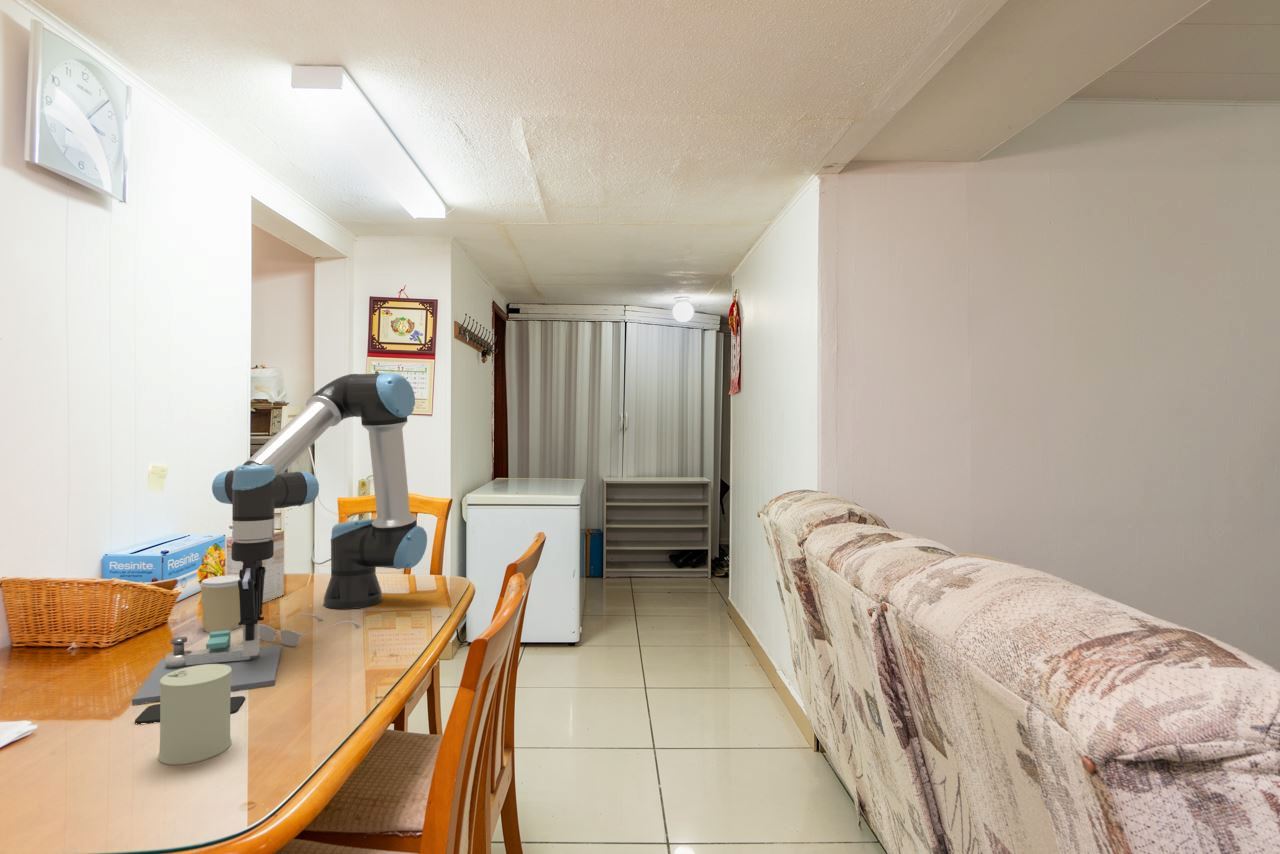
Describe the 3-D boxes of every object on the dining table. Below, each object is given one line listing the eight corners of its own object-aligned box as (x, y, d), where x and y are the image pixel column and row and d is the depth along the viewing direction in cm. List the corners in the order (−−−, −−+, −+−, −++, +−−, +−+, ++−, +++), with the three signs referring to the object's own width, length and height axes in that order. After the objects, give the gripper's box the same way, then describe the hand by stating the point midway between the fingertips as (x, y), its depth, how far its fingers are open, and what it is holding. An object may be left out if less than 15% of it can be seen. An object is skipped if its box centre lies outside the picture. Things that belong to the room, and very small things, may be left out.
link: (161, 668, 131) (162, 643, 131) (169, 661, 135) (170, 636, 135) (257, 659, 136) (257, 635, 136) (262, 653, 140) (262, 629, 140)
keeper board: (281, 649, 147) (281, 622, 147) (274, 685, 126) (274, 653, 126) (161, 663, 137) (161, 634, 137) (131, 705, 116) (132, 671, 116)
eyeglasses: (254, 640, 154) (254, 623, 154) (321, 621, 170) (321, 605, 170) (299, 650, 147) (299, 632, 147) (364, 628, 164) (364, 612, 164)
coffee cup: (253, 623, 166) (253, 575, 166) (226, 634, 157) (227, 583, 157) (218, 621, 167) (219, 574, 167) (190, 632, 158) (190, 582, 158)
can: (182, 737, 105) (183, 661, 105) (243, 735, 105) (243, 659, 105) (143, 766, 95) (144, 683, 95) (210, 764, 96) (211, 681, 96)
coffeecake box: (262, 595, 195) (263, 529, 195) (284, 596, 194) (285, 529, 194) (224, 608, 180) (225, 536, 180) (247, 609, 179) (248, 537, 179)
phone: (236, 711, 113) (132, 722, 108) (236, 716, 113) (132, 727, 108) (246, 695, 120) (149, 704, 115) (246, 699, 120) (149, 709, 115)
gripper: (240, 536, 141) (238, 647, 141) (223, 545, 129) (221, 667, 128) (279, 534, 143) (277, 643, 143) (266, 543, 131) (264, 663, 131)
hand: (250, 654), depth 136 cm, fingers closed
